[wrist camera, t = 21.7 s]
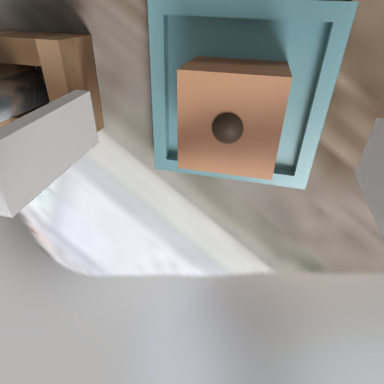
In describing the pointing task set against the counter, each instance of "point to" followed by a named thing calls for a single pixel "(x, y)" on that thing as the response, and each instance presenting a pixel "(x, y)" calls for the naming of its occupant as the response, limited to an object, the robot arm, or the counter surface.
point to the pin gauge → (22, 93)
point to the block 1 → (52, 64)
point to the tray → (259, 50)
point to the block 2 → (231, 115)
